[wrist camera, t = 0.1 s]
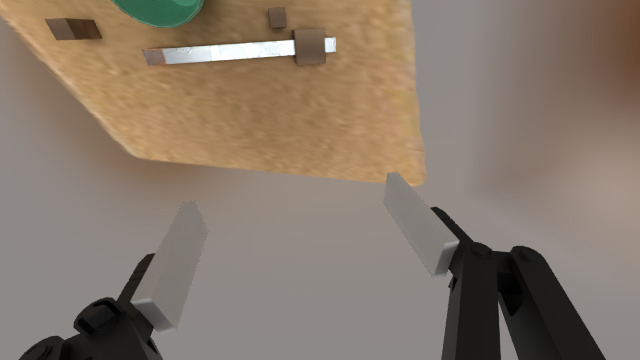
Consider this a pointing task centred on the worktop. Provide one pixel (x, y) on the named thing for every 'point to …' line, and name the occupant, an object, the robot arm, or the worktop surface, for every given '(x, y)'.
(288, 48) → the tie bar
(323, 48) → the brown blocks
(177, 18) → the mug
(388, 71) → the worktop surface
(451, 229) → the robot arm
